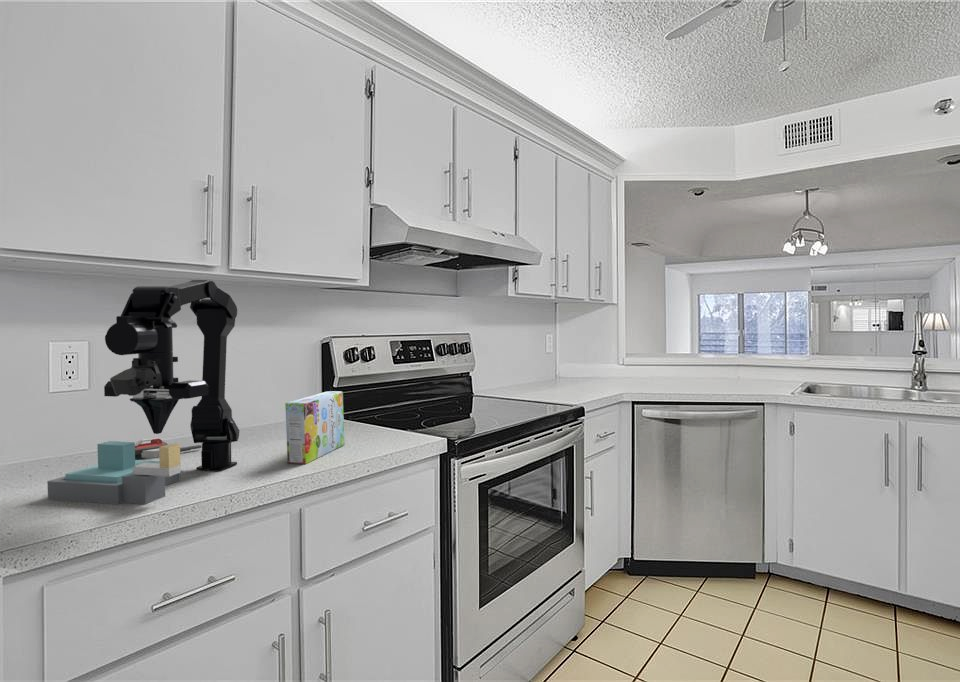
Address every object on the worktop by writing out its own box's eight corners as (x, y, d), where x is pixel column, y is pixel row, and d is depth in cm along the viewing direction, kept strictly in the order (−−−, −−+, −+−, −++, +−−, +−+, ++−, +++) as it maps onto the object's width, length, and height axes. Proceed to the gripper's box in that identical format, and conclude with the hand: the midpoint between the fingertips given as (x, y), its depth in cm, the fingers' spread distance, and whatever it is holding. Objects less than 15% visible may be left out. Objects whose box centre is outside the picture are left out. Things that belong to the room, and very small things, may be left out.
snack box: (326, 444, 156) (326, 390, 155) (345, 445, 155) (344, 391, 154) (285, 463, 135) (284, 401, 135) (306, 464, 134) (305, 402, 133)
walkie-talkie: (115, 466, 135) (203, 452, 149) (114, 447, 135) (202, 435, 149) (106, 459, 141) (191, 447, 155) (106, 442, 141) (191, 431, 155)
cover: (116, 470, 122) (115, 436, 122) (164, 473, 119) (163, 438, 119) (65, 486, 110) (64, 448, 110) (117, 489, 108) (116, 451, 107)
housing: (116, 476, 124) (116, 454, 124) (200, 481, 120) (199, 458, 120) (48, 499, 109) (47, 473, 108) (141, 505, 104) (140, 479, 104)
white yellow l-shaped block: (144, 470, 110) (144, 442, 110) (180, 472, 108) (179, 444, 108) (132, 474, 107) (131, 445, 107) (169, 476, 105) (168, 447, 105)
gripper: (76, 354, 101) (79, 440, 101) (165, 355, 97) (167, 444, 97) (127, 350, 112) (129, 428, 112) (209, 351, 108) (211, 432, 108)
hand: (157, 433), depth 107 cm, fingers closed
